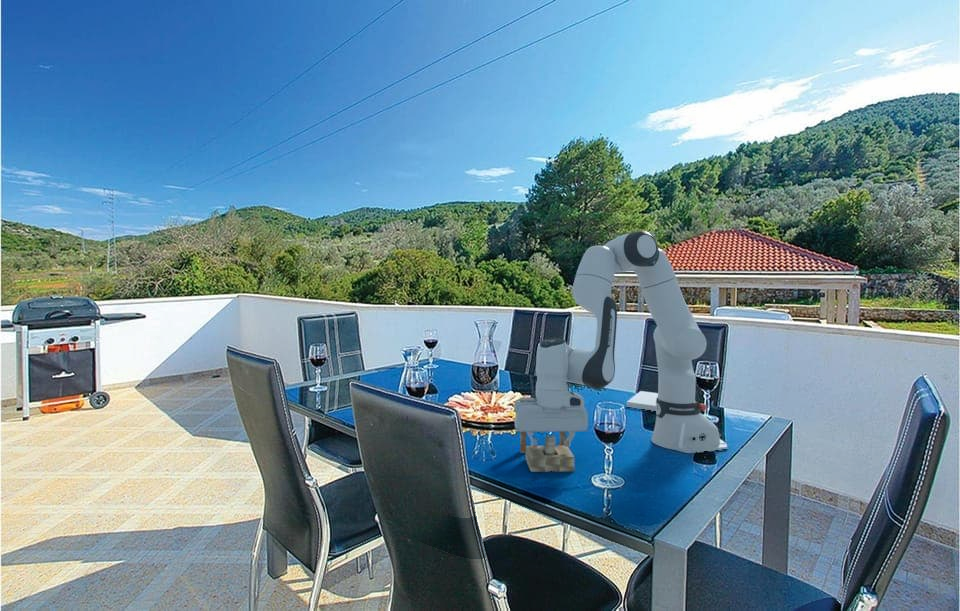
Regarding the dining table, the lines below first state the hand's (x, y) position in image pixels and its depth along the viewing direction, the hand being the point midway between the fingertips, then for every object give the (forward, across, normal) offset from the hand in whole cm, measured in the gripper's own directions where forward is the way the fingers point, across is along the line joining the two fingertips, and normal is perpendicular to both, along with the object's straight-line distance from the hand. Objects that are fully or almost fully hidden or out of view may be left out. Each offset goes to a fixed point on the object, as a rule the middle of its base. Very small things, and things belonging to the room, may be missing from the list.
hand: (550, 446), depth 136 cm
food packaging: (+7, +55, +64) cm, 85 cm away
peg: (+6, 0, 0) cm, 6 cm away
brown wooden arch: (+6, 0, +9) cm, 11 cm away
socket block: (+6, 0, +1) cm, 6 cm away
